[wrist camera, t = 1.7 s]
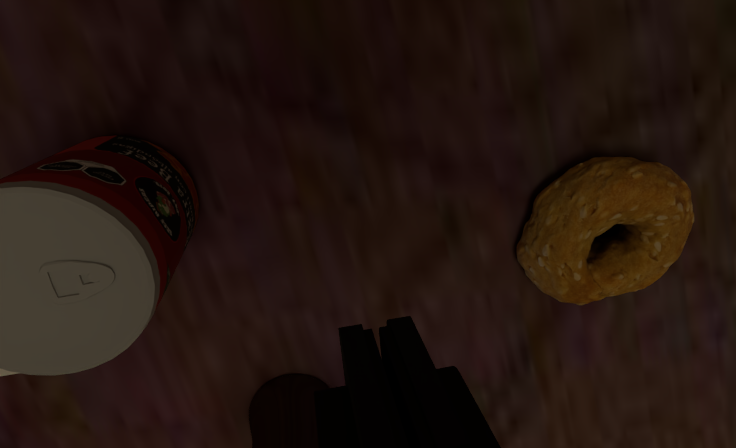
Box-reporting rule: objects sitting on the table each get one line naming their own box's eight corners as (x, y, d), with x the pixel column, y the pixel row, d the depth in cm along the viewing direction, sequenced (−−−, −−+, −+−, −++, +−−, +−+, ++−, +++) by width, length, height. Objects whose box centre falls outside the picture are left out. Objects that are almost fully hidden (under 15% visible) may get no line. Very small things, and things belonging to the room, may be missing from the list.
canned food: (225, 226, 29) (195, 323, 19) (104, 283, 29) (7, 411, 19) (155, 107, 26) (73, 145, 16) (19, 169, 26) (-148, 247, 16)
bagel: (489, 198, 32) (523, 223, 27) (642, 121, 31) (701, 133, 27) (535, 314, 35) (571, 353, 31) (672, 245, 35) (728, 274, 31)
